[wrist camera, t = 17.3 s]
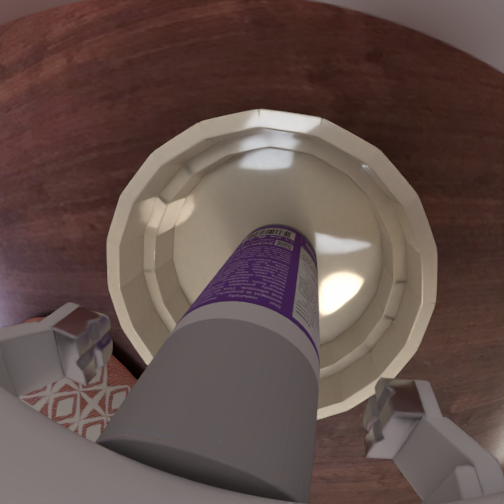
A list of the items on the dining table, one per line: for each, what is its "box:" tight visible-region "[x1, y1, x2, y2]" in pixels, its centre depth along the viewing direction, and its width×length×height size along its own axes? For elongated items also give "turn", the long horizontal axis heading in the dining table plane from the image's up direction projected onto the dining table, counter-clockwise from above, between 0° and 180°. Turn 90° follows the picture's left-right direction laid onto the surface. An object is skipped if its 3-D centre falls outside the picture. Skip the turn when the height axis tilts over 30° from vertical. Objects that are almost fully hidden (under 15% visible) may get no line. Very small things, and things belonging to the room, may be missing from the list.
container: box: [95, 224, 320, 504], centre depth 12 cm, size 5×5×15 cm
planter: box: [19, 317, 138, 442], centre depth 20 cm, size 19×19×15 cm
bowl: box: [107, 109, 437, 420], centre depth 17 cm, size 16×16×6 cm
